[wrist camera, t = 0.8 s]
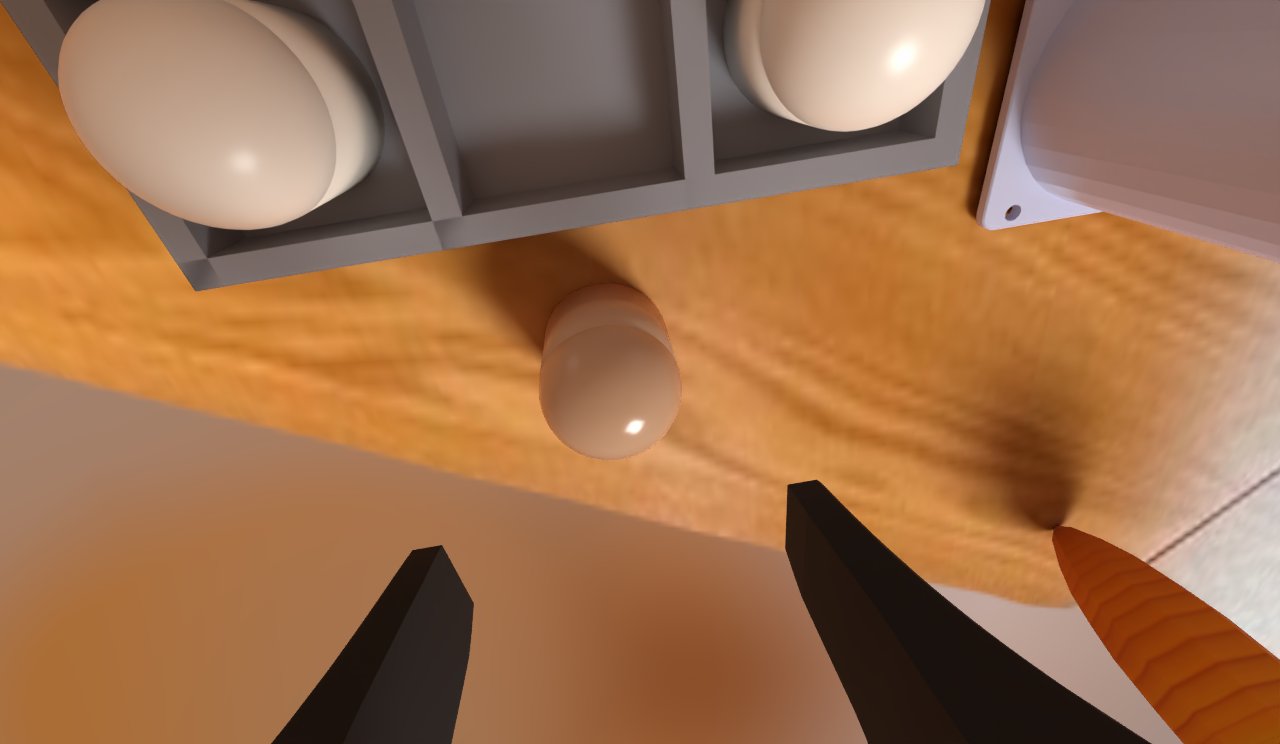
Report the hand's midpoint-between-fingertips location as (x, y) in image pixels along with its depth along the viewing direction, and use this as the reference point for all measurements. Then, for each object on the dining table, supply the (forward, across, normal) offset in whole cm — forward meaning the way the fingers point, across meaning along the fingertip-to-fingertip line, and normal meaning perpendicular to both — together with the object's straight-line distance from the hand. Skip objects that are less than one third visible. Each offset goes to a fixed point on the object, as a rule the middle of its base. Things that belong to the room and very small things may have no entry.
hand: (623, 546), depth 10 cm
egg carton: (+9, 0, -12) cm, 15 cm away
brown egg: (+9, 0, 0) cm, 9 cm away
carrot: (+9, -22, +16) cm, 29 cm away
